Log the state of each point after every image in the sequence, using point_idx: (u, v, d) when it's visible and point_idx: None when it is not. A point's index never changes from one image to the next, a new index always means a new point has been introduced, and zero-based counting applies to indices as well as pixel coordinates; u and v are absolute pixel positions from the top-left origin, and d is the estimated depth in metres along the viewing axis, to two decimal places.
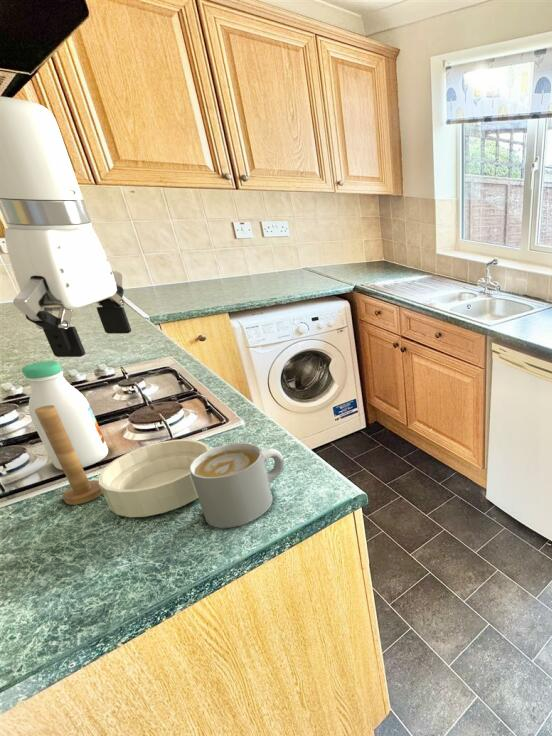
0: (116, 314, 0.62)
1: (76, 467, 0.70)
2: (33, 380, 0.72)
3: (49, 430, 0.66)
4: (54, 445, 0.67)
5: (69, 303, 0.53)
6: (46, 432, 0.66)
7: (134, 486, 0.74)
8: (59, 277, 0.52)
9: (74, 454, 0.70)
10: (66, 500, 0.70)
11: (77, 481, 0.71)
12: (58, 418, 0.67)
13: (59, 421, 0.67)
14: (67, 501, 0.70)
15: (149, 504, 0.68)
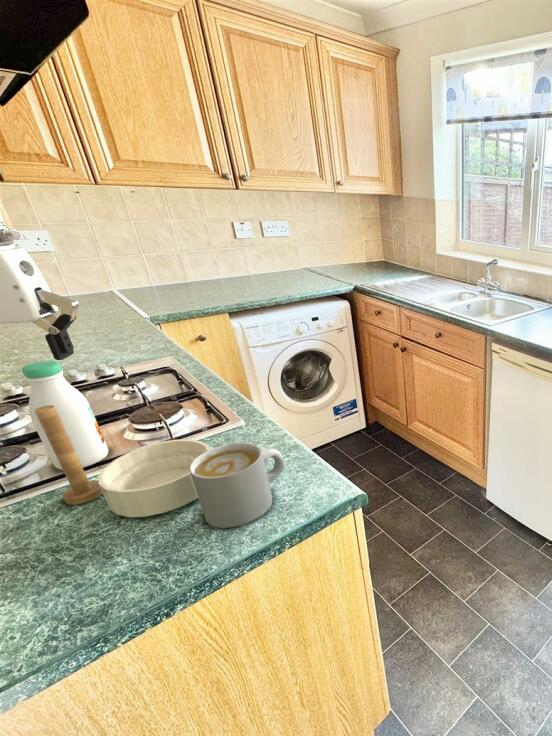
0: None
1: (76, 467, 0.70)
2: (33, 380, 0.72)
3: (49, 430, 0.66)
4: (54, 445, 0.67)
5: None
6: (46, 432, 0.66)
7: (134, 486, 0.74)
8: None
9: (74, 454, 0.70)
10: (66, 500, 0.70)
11: (77, 481, 0.71)
12: (58, 418, 0.67)
13: (59, 421, 0.67)
14: (67, 501, 0.70)
15: (149, 504, 0.68)
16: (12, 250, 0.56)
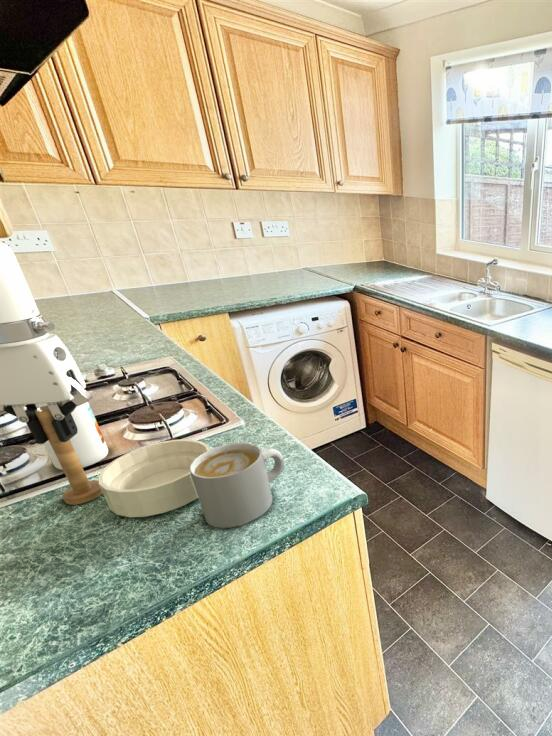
0: None
1: (76, 467, 0.70)
2: None
3: (49, 430, 0.66)
4: (54, 445, 0.67)
5: None
6: (46, 432, 0.66)
7: (134, 486, 0.74)
8: None
9: (74, 454, 0.70)
10: (66, 500, 0.70)
11: (77, 481, 0.71)
12: None
13: None
14: (67, 501, 0.70)
15: (149, 504, 0.68)
16: (47, 339, 0.62)
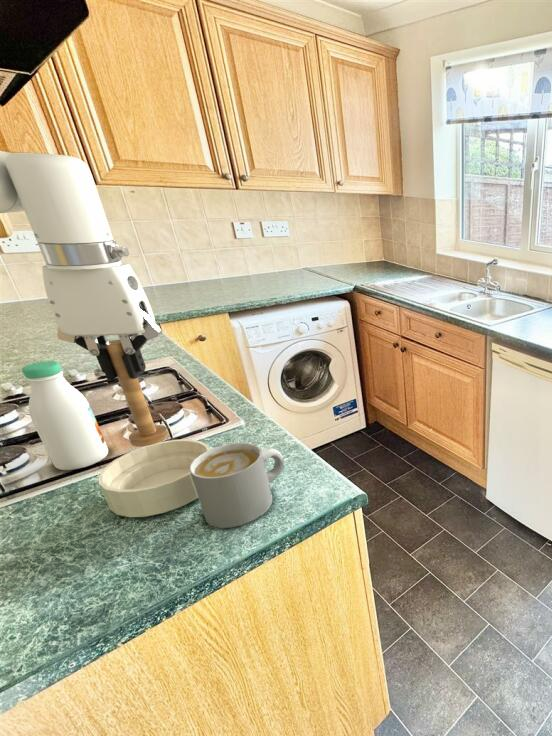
0: None
1: (143, 407, 0.68)
2: (33, 380, 0.72)
3: (119, 365, 0.64)
4: (123, 382, 0.65)
5: (61, 330, 0.59)
6: (116, 367, 0.64)
7: (134, 486, 0.74)
8: (51, 307, 0.58)
9: (141, 393, 0.67)
10: (133, 441, 0.68)
11: (144, 422, 0.68)
12: None
13: None
14: (134, 443, 0.68)
15: (149, 504, 0.68)
16: (121, 266, 0.59)
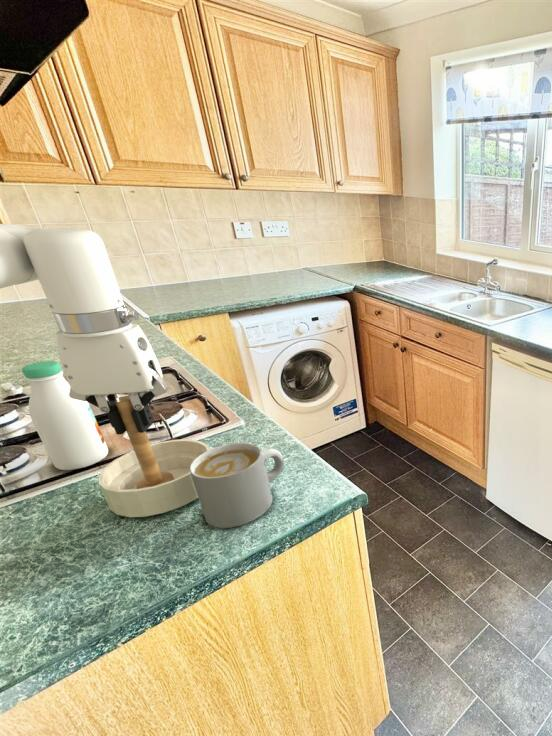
0: None
1: (151, 458, 0.70)
2: (33, 380, 0.72)
3: (128, 420, 0.66)
4: (132, 436, 0.67)
5: (73, 390, 0.62)
6: (125, 422, 0.66)
7: (134, 486, 0.74)
8: (64, 370, 0.60)
9: (149, 445, 0.70)
10: None
11: (151, 472, 0.71)
12: None
13: None
14: None
15: (149, 504, 0.68)
16: (132, 329, 0.62)
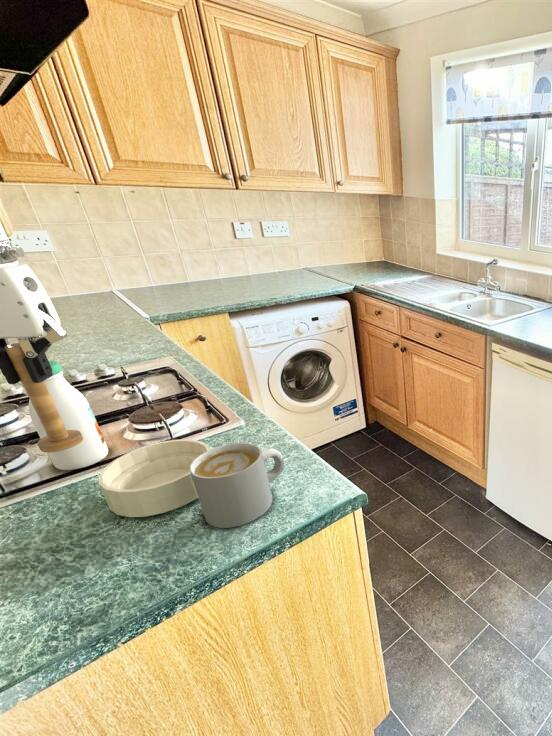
0: None
1: (51, 412, 0.66)
2: None
3: (21, 369, 0.62)
4: (27, 386, 0.63)
5: None
6: (18, 371, 0.62)
7: (134, 486, 0.74)
8: None
9: (49, 398, 0.65)
10: (41, 447, 0.66)
11: (53, 427, 0.66)
12: None
13: None
14: (42, 448, 0.66)
15: (149, 504, 0.68)
16: (16, 267, 0.57)
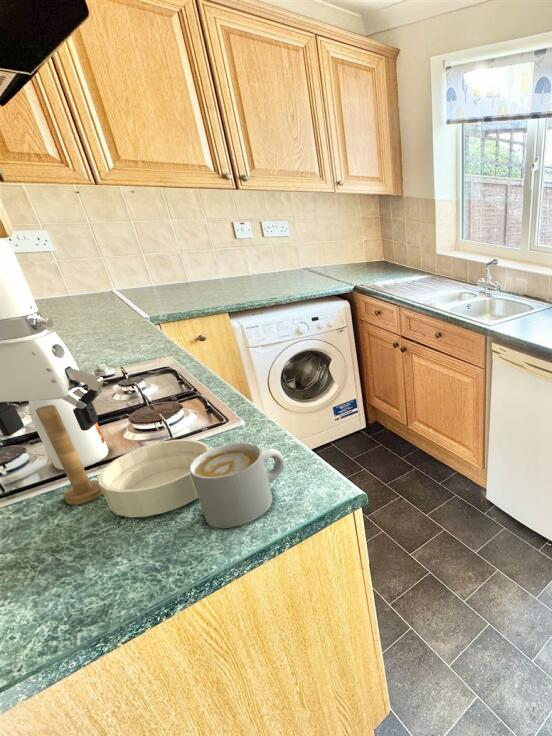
0: None
1: (77, 467, 0.70)
2: None
3: (51, 430, 0.66)
4: (55, 445, 0.67)
5: None
6: (47, 432, 0.66)
7: (134, 486, 0.74)
8: None
9: (75, 454, 0.70)
10: (67, 500, 0.70)
11: (78, 481, 0.71)
12: (59, 418, 0.67)
13: (60, 421, 0.67)
14: (68, 501, 0.70)
15: (149, 504, 0.68)
16: (45, 336, 0.61)
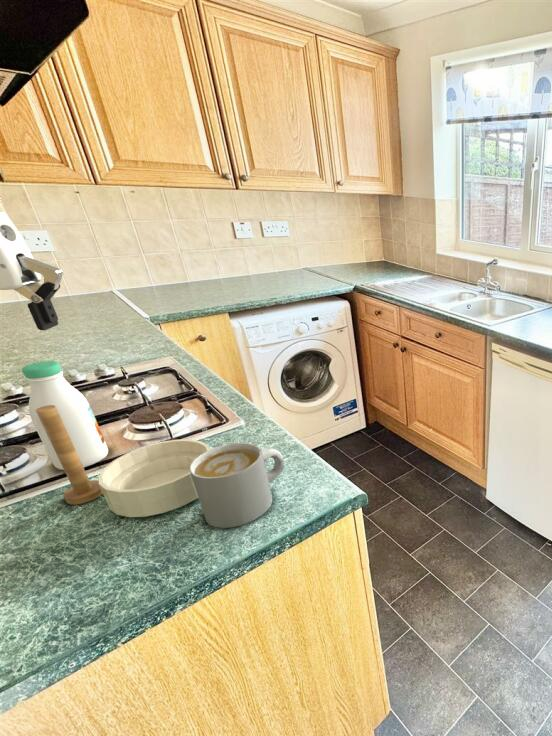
0: None
1: (77, 467, 0.70)
2: (33, 380, 0.72)
3: (51, 430, 0.66)
4: (55, 445, 0.67)
5: None
6: (47, 432, 0.66)
7: (134, 486, 0.74)
8: None
9: (75, 454, 0.70)
10: (67, 500, 0.70)
11: (78, 481, 0.71)
12: (59, 418, 0.67)
13: (60, 421, 0.67)
14: (68, 501, 0.70)
15: (149, 504, 0.68)
16: None
